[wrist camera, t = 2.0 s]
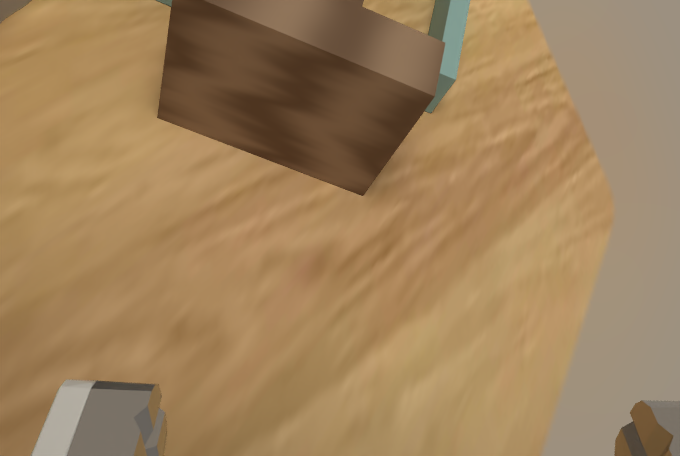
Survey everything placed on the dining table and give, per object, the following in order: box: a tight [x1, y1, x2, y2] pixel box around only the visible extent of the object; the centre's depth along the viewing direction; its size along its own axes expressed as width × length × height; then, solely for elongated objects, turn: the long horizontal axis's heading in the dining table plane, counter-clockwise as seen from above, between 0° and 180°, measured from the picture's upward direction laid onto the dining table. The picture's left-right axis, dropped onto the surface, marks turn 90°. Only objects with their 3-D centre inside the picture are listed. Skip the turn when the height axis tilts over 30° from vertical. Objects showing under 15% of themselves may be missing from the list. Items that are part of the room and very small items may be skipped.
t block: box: [157, 0, 445, 196], centre depth 40 cm, size 14×12×11 cm
